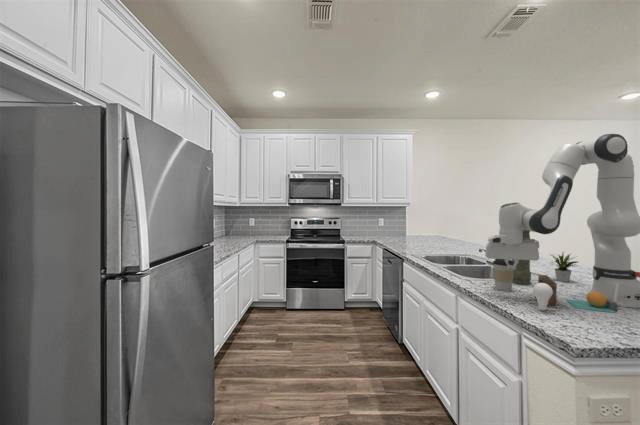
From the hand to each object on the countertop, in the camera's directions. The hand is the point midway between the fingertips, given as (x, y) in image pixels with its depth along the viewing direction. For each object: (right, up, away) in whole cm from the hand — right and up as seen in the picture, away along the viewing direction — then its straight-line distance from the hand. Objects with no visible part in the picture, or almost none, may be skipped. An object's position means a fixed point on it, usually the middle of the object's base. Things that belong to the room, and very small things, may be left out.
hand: (511, 269), depth 130 cm
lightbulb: (+1, -13, -17) cm, 21 cm away
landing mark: (+24, -13, -12) cm, 30 cm away
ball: (+26, -10, -13) cm, 31 cm away
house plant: (+45, -12, +26) cm, 53 cm away
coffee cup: (+4, -13, +13) cm, 18 cm away
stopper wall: (+30, -13, -15) cm, 36 cm away
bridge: (+12, -13, -5) cm, 18 cm away
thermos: (+20, -12, +23) cm, 33 cm away
